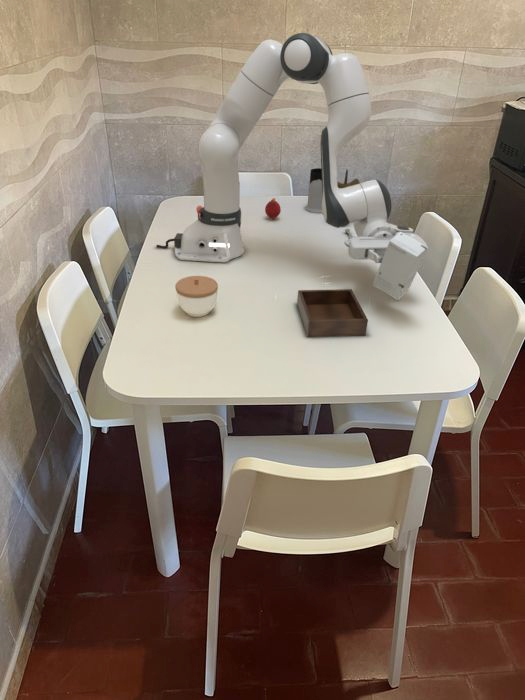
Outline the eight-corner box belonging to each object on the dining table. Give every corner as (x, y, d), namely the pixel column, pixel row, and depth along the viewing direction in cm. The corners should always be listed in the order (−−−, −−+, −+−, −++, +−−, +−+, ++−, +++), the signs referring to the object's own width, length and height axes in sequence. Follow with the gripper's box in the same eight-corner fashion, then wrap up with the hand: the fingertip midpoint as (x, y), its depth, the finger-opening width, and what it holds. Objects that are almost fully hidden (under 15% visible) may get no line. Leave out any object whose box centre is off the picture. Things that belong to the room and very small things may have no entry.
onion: (278, 222, 197) (279, 201, 192) (263, 221, 198) (264, 199, 193) (281, 217, 202) (282, 196, 197) (266, 216, 203) (267, 195, 198)
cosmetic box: (371, 286, 138) (386, 240, 127) (383, 275, 142) (399, 229, 130) (399, 302, 135) (417, 256, 124) (411, 290, 138) (429, 245, 127)
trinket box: (185, 325, 133) (183, 291, 128) (171, 306, 141) (169, 274, 135) (224, 316, 137) (224, 283, 132) (208, 298, 145) (207, 267, 140)
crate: (307, 337, 130) (308, 321, 127) (296, 304, 143) (298, 290, 141) (365, 335, 131) (368, 319, 129) (349, 303, 145) (351, 289, 142)
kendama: (355, 226, 196) (363, 171, 185) (330, 227, 194) (336, 172, 183) (350, 221, 201) (357, 167, 190) (326, 222, 199) (331, 167, 188)
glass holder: (305, 211, 208) (307, 172, 200) (308, 200, 220) (311, 163, 212) (327, 213, 207) (331, 174, 199) (329, 202, 219) (333, 165, 211)
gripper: (343, 228, 142) (356, 249, 131) (417, 227, 144) (436, 247, 133) (341, 250, 145) (353, 272, 134) (413, 249, 148) (431, 270, 136)
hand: (395, 260), depth 133 cm, fingers closed on cosmetic box, 7 cm apart
